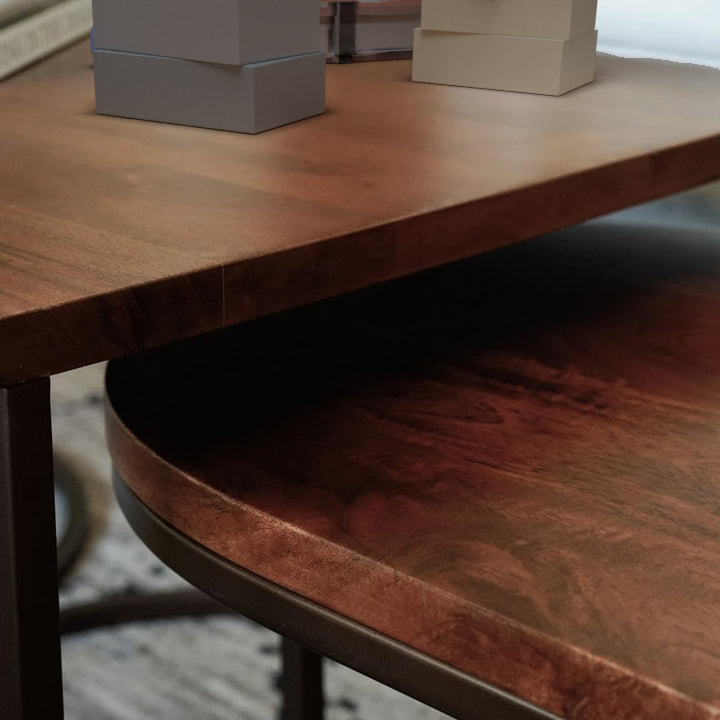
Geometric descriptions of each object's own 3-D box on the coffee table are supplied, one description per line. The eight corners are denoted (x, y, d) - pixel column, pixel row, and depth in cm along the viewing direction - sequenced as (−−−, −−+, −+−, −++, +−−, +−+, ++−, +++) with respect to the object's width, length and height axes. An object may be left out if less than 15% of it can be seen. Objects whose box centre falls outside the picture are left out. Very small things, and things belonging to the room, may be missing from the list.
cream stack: (597, 81, 94) (607, -24, 91) (560, 97, 86) (570, -17, 83) (456, 67, 99) (461, -32, 96) (409, 81, 91) (413, -26, 88)
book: (207, 70, 93) (205, 6, 92) (130, 44, 107) (127, -13, 105) (472, 56, 106) (476, -2, 104) (373, 34, 120) (374, -17, 118)
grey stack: (326, 112, 78) (328, -14, 75) (251, 135, 70) (249, -4, 67) (174, 94, 83) (170, -24, 80) (87, 114, 75) (79, -17, 72)
